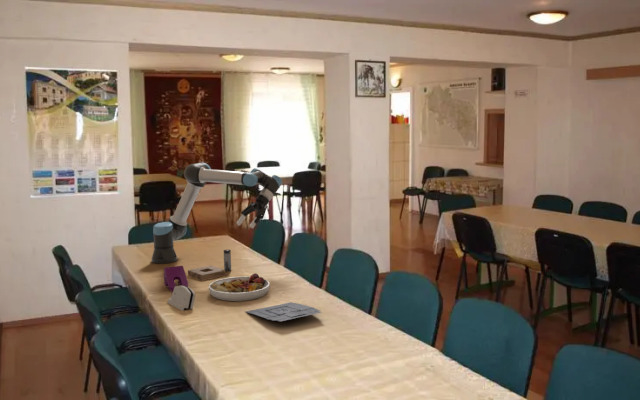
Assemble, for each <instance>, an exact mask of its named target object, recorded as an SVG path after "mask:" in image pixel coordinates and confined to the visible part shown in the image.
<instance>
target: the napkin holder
mask: <svg viewBox="0 0 640 400" xmlns="http://www.w3.org/2000/svg"><path fill="white" fill-rule="evenodd" d="M195 298H196V293H195V291H194V290H193V289H192V288H191V287H189V286H188V287H186V286H181V285H176V286H175V288H174V290H173V292H172V293H171V296H170V297H169V298H168V299H167V304H169V305H171V306H172V307H174V308H176V309H178V310H180V311H182V312H184V311H185V309H190V310H193V309H194V303H195V300H196V299H195Z"/></svg>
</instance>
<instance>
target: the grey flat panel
mask: <svg viewBox="0 0 640 400" xmlns="http://www.w3.org/2000/svg"><path fill="white" fill-rule="evenodd" d="M245 313H248V314H252V315H255V316H257V317H261V318H264V319H266V320H270V321H277V322H283V321H284V322H285V321H289V320H293V319H297V318H302V317H308V316H311V315H312V316H313V315H316V314H321V313H322V311H321V309H317V308H315V307H313V306H309V305H307V304H306V305H305V304H302V303H298V302H297V303H296V302H286V303H281V304H277V305H276V304H275V305H271V306H267V307H263V308H262V307H261V308H255V309H251V310H246V311H245Z"/></svg>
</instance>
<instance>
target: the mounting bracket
mask: <svg viewBox="0 0 640 400" xmlns="http://www.w3.org/2000/svg"><path fill="white" fill-rule="evenodd" d="M176 281H178V286H186V287H188V288H189V281H188V277H187V275H186V271H185V268H184V265H179V266H177V265H176V266H168V267H164V268H163V283H164V287H165V288H168V290H169V291H170V292H172V293H173V290H174V288H175V286H177V285H176Z"/></svg>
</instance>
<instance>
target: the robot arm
mask: <svg viewBox="0 0 640 400" xmlns="http://www.w3.org/2000/svg"><path fill="white" fill-rule="evenodd" d="M183 177H184V178H185V181H186V182H187V183H186V186H185V189H184V191H183V193H182V195H181V197H180V200H179V202H178V203H177V206H176V209H175V211H174V213H173V215H170V217H169V219H168V220H167V221H163V222H158V223H156V224H154V225H153V226H152V227H153V228H152V229H153V230H152V234H153V236H152V237H153V251H152V252H153V253H152V255H151V263H153V264H171V263H174V262H176V261H177V260H178V256H177V253H176V251H175V248H174V242H175V241H177V240H180V239H182V238H183V237H184V236H185V235H186V233H187V229H188V228H187V225H188V222H187V219H188V218H189V215H190V213H191V210H192V208H193V206H194V204H195V201H196V199H197V197H198V195H199V192H200V190H201V189H203V188H204V187H205V186H206V183H219V184H231V185H240V186H241V185H242V186H246V187H255V186H256V185H260V186H261V187H262V188H263V189H262V190H261V191H260V192H259V194H258V195H257V197H256V199H255V202H254V201H252V202H251V203H250V204H248V206H247V207H245V208H244V209H243V210H241V211H240V214H241V215H240V216H239V219H237V220H236V224H237V226H239V227H240V226H241V225H242V223H243V222H244V221H245V219H246V218H247V216H248V215H250V214H251V213H253V212H257V213H256V216H255V217H254V218H253V220H252V221H251V222H250V224H249V225H248V226H249V227H250V228H251V229H253V230H254V227H255V226H256V225H257V223H258V222H259V221H260V220H263V219H264V218H265V213H266V210H267V209H268V204H269V203H270V201H271V200H272V199H273V197H274V196H275V194H276V193H277V192H278V190H279V189H280V187H281V186H282V184H283V179H282V178H281V177H280V176H279V175H276V174H273V175H272V176H270V175H268V174H267V173H265V172H263V171H262V170H261V169H258V168H256V167H254V168H252V169H251V170H250V172H247V171H246V172H245V171H234V170H222V169H212V168H211V166H210V164H207V163H206V162H198V163H190V164H189V165H187V166H185V169H184V171H183Z"/></svg>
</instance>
